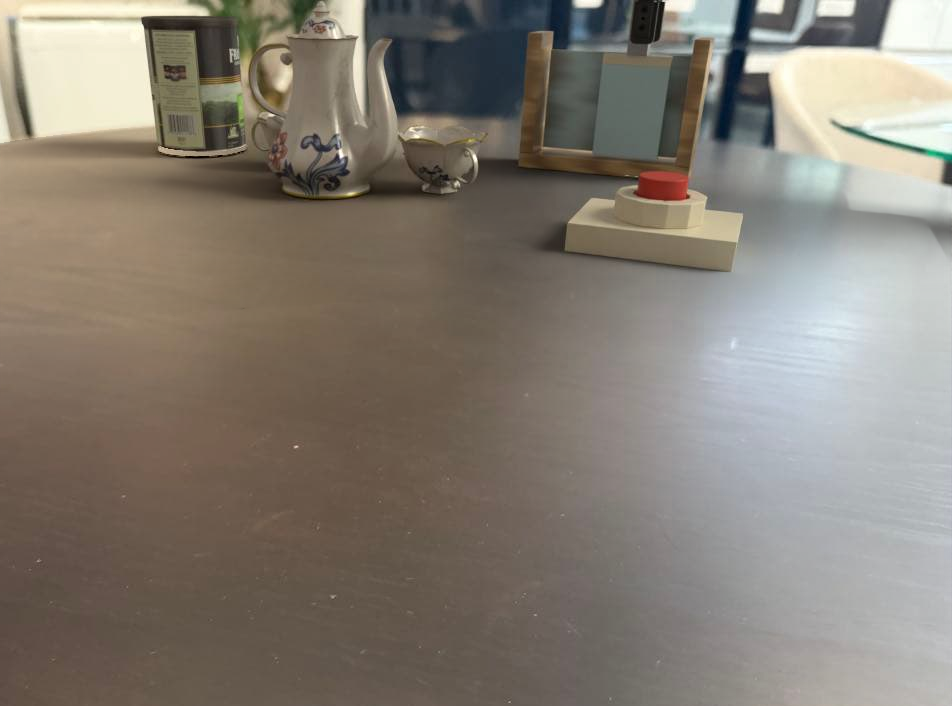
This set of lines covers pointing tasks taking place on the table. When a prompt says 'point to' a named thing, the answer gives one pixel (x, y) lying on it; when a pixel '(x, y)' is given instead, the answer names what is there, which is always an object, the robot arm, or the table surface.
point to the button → (662, 186)
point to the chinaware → (348, 122)
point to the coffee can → (195, 82)
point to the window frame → (575, 109)
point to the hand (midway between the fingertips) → (645, 41)
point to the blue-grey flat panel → (632, 102)
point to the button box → (656, 230)
